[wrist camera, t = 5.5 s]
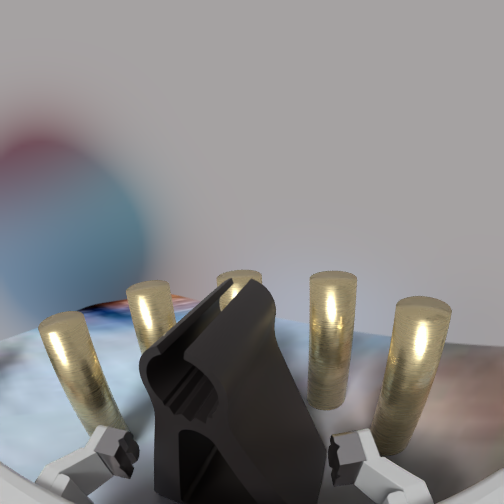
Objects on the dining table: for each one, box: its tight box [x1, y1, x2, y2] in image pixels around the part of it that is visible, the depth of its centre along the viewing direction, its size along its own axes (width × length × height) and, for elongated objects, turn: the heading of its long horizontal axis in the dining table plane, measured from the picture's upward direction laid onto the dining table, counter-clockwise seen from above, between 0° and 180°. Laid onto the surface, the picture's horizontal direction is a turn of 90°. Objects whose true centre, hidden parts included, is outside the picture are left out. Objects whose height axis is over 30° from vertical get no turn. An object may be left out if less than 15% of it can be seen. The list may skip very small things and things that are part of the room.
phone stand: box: [139, 278, 326, 504], centre depth 11 cm, size 9×6×12 cm, turn 73°
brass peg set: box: [38, 270, 452, 455], centre depth 17 cm, size 22×10×10 cm, turn 88°
